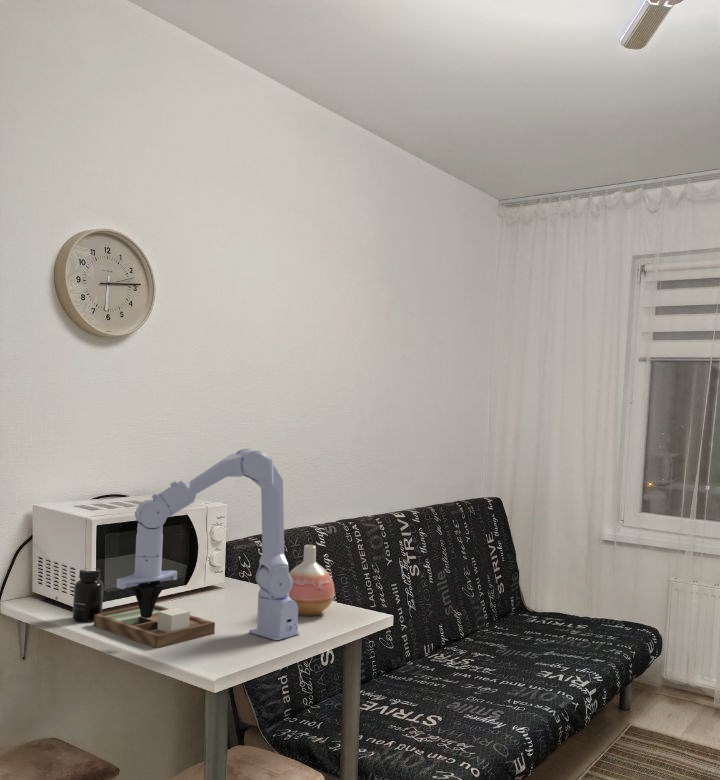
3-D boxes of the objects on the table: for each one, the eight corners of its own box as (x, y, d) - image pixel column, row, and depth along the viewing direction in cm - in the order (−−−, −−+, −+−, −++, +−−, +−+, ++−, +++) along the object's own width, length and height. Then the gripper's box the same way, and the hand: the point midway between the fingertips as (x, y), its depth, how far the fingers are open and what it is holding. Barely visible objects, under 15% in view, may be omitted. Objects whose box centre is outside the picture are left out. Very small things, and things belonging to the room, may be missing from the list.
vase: (310, 623, 193) (312, 552, 193) (270, 613, 201) (273, 545, 202) (344, 613, 204) (346, 545, 204) (305, 604, 212) (307, 539, 213)
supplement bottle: (71, 623, 186) (73, 573, 186) (73, 616, 192) (75, 567, 193) (101, 622, 188) (103, 572, 188) (102, 615, 194) (104, 567, 194)
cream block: (189, 629, 177) (189, 611, 177) (171, 633, 173) (171, 615, 173) (175, 625, 180) (176, 607, 180) (157, 629, 176) (158, 611, 176)
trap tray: (214, 633, 181) (214, 622, 181) (157, 648, 169) (157, 636, 169) (150, 613, 197) (150, 603, 197) (93, 625, 185) (94, 614, 185)
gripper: (164, 548, 180) (162, 607, 179) (109, 556, 168) (106, 619, 168) (184, 553, 175) (181, 613, 175) (128, 560, 164) (125, 625, 163)
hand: (146, 616), depth 171 cm, fingers closed
